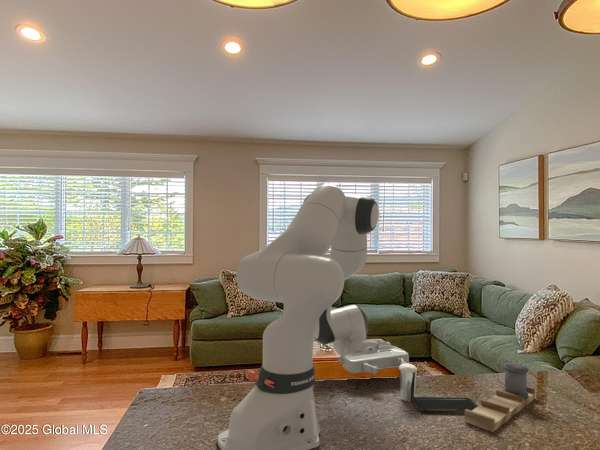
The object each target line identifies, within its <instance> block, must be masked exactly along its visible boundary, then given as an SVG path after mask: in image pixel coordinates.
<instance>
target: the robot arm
mask: <svg viewBox="0 0 600 450" xmlns="http://www.w3.org/2000/svg"><path fill="white" fill-rule="evenodd" d="M379 217H380V213H379V205H378V203H377V202H376V201H375V199H374V198H372V197H370V196H366V195H361V196H360V195H356V194H350V193H344V191H343V190H342V189H341V188H340V187H338V186H336V185H335V184H329V183H326V184H322V185H319V186H317V187H316V188H315V189H314V190H312V192H311V193H309V194H308V195H307V197H305V198H304V200H303V202H302V204H301V206H300V207H299V209H298V210H297V213H296V214H295V216H294V218H293V219H292V221H291V222H290V224H289V225H288V227H287V228H286V229H285V230H284V231H283V232H282V233H281V234H280V235H279V236H277V237H276V238H275V239H274V240H272V241H271V242H270V243H269V244H267V245H265V246H264V247H262V248H261V249H259V250H257V251H254V252H252V253H250V254H247V255H246V256H244V257H243V258H242V259H241V260H240V262H239V264H238V266H237V269H236V272H235V273H236V275H235V279H236V285H237V287H238V289H239V291H240V292H241V294H244V295H246V296H248V297H250V298H253V299H255V300H258V301H264V302H273V303H281V304H283V311H282V315H281V317H279V318H278V319H275V320H274V321H272V322H271V323H269V324H268V325H267V327H266V328H265V329H264V331H263V334H262V364H261V366H260V369H259V372H257V371H255V370H252V369H250V370H248V371H247V373H246V379H248V380H249V381H252V382H255V385H254V386H253V388H252V389H251V390H250V391H249V392H247V393H248V394H246V395H245V397H243V398H242V400H241V401H240V402H239V403H238V404H237V405H236V406H235V407H234V408H233V410H232V411H231V414H230V418H229V422H228V423H229V424H228V429H226V430H225V431H223V432H221V433H219V434H218V436H217V445H218V447H219V449H220V450H311V449H315V448H317V447H319V446H320V444H321V443H320V442H321V441H320V437H319V435H320V433H321V427H320V424H319V420H318V416H317V411H316V403H315V402H316V401H315V393H314V385H315V383H316V382H315V381H316V374H315V373H316V372H315V365H314V364H313V358H314V357H313V355H314V340H315V341H316V342H318V343H319V344H321V345H325V346H326V345H328V344H331V345H332V347H333V350H334V351H335V353H336V354H337V355H338V356H339V357H338V358H337V362H338V363H340V364H342V367H343V369H344V370H345V371H347V372H348V373H350V374H354V375H355V374H360V373H371V374H372V375H377V374H380V370H387V369H393V368H399V366H400V365H401V364H406V363H409V364H410V357H409V352H407V351H406V350H404V349H402V348H400V347H397V346H395V345H392V344H391V342H389V341H384V340H383V341H382V340H381V341H379V340H378V341H377V340H371V339H367V337H368V332H369V320H368V317H367V314H366V313H365V311H364V310H363V309H362V308H361V307H359V306H358V305H356V304H350V305H345V306H342V307H338V308H333V309H332V305H333V304H335V302H337V301H338V299H339V298H340V297H341V295H342V293H343V291H344V286H345V281H346V280H347V279H349V278H350V277H353V276H354V275H356V274H357V273H359V272H360V271H361V270H362V268H364V266H365V265H366V261H367V256H368V234H369V233H371V232H373V231H374V230H375V229H376V227H377V224H378V221H379ZM329 250H330V252H329ZM328 252H329V256H328V257H327V256H324V255H326V254H327V253H328Z"/></svg>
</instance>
